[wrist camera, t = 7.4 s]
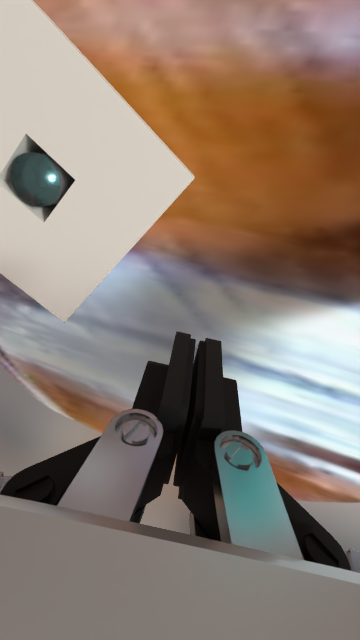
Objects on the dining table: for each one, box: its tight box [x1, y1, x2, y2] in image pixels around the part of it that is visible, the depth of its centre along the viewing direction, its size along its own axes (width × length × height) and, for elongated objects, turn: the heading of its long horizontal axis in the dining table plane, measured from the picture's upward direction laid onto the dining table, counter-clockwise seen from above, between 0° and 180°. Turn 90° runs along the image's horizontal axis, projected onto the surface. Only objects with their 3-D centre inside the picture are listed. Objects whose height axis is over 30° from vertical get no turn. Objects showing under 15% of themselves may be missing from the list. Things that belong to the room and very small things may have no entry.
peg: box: [10, 152, 75, 207], centre depth 28 cm, size 4×4×8 cm
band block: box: [0, 0, 195, 323], centre depth 28 cm, size 18×18×8 cm
